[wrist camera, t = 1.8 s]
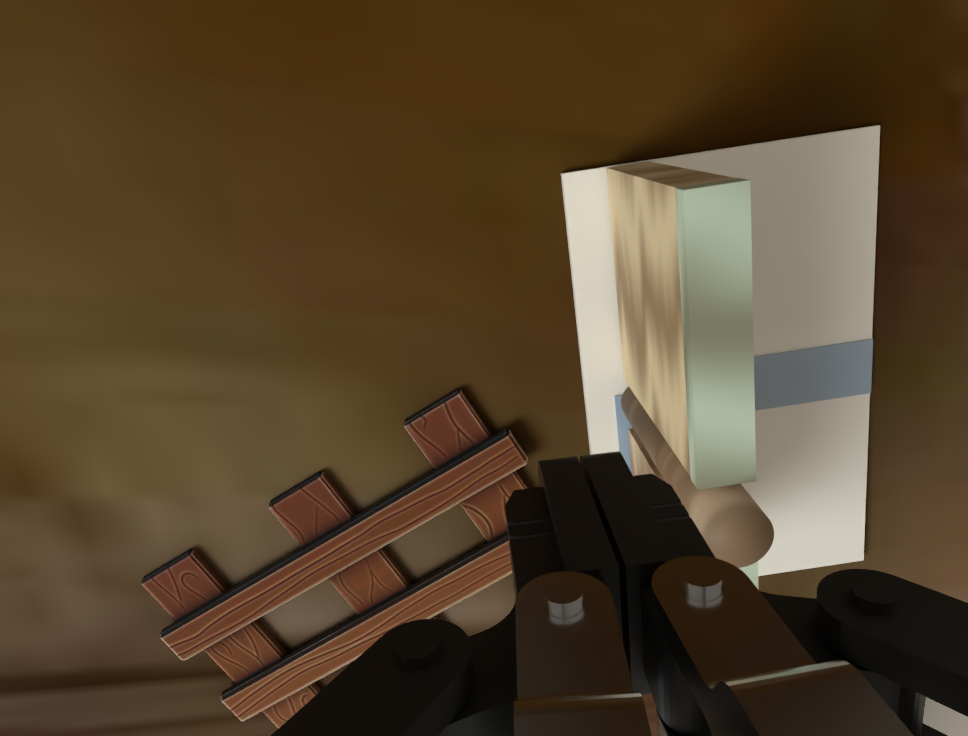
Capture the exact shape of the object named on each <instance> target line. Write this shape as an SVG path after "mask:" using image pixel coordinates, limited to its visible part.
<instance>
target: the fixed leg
mask: <svg viewBox="0 0 968 736" xmlns="http://www.w3.org/2000/svg"><path fill="white" fill-rule="evenodd" d="M621 407H622V410H623V412H624V414H625V416H626V417H627V419H628V421H629V422H630V424H631V426H632V427H633V428H630V429H628V433H629V445H630V457H631V469H632V475H633V476H636V475H644V474H654V475H655V476H657V477H658V478H660V479H662V480H663V481H665V482H666V483H668V484H670V485H671V486H672V487H673V489H674V491H675V492H676V494H677V495H678V497H679V499H680V500H681V504H682V505H684V507H685V509H686V510H687V512H688V513H689V517H690V518H692V520H693V522H694V523H695V525H696V526H697V528H698V530H699V531H700V533H701V535H702V536H703V538H704V540H705V541H706V543H707V544H708V546H709V548H710V549H711V551H712V553H713V554H714V556H715V558H717V559H720V560H723V561H726V562H728V563H731V564H733V565H734V566H736V567H738V568H739V569H740V570H742V571H743V572H744V573H745V574H746V575H747V576H748V577H749V579H750V580H751V581H752V582H753V584H754V585H755V586H756V587H757V589H758V561H759V560H760V559H761V558H762V557H764V556H765V555H766V553H767V552H768V551H769V549H770V547H771V546H772V543H773V539H774V528H773V525H772V523H771V521H770V520H769V518H768V517H767V516H766V515H765V513H764V512H763V511H762V510H761V508H760V507H759V506H758V505H757V503H756V502H755V501H754V500H753V498H752V497H751V496H750V495H749V493H748V492H747V491H746V490H745V488H744V487H743V486H742V485H741V484H734V485H728V486H721V487H714V488H708V489H701V490H698V489H697V488H696V486H695V485H694V484H693V482H692V481H691V477H690V475H689V474H688V472H687V471H686V470H685V468H684V467H683V465H682V464H681V462H680V461H679V459H678V458H677V456H676V455H675V453H674V452H673V450H672V449H671V447H670V446H669V445H668V443H667V442H666V440H665V439H664V437H663V436H662V434H661V433H660V431H659V430H658V428H657V427H656V425H655V424H654V423H653V421H652V420H651V418H650V417H649V415H648V414H647V412H646V411H645V409H644V408H643V406H642V405H641V403H640V402H639V400H638V399H637V398H636V396H635V395H634V393H633V392H632V390H631V389H630V387H629V386H628V387H627V388H626V390H625V391H624V393H623V395H622V398H621Z"/></svg>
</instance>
